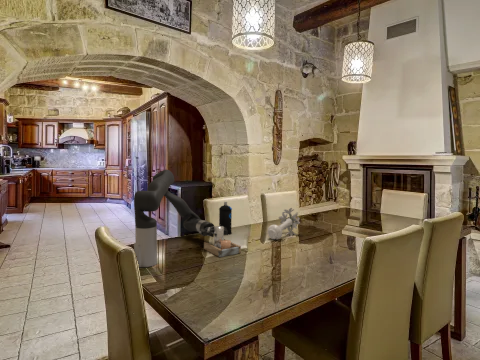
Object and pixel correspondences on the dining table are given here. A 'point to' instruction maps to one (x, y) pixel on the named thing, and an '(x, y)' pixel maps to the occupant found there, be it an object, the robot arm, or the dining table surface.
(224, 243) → the cylinder
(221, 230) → the shaft
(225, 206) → the aerosol can
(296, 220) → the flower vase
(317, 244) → the dining table surface
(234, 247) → the channel
